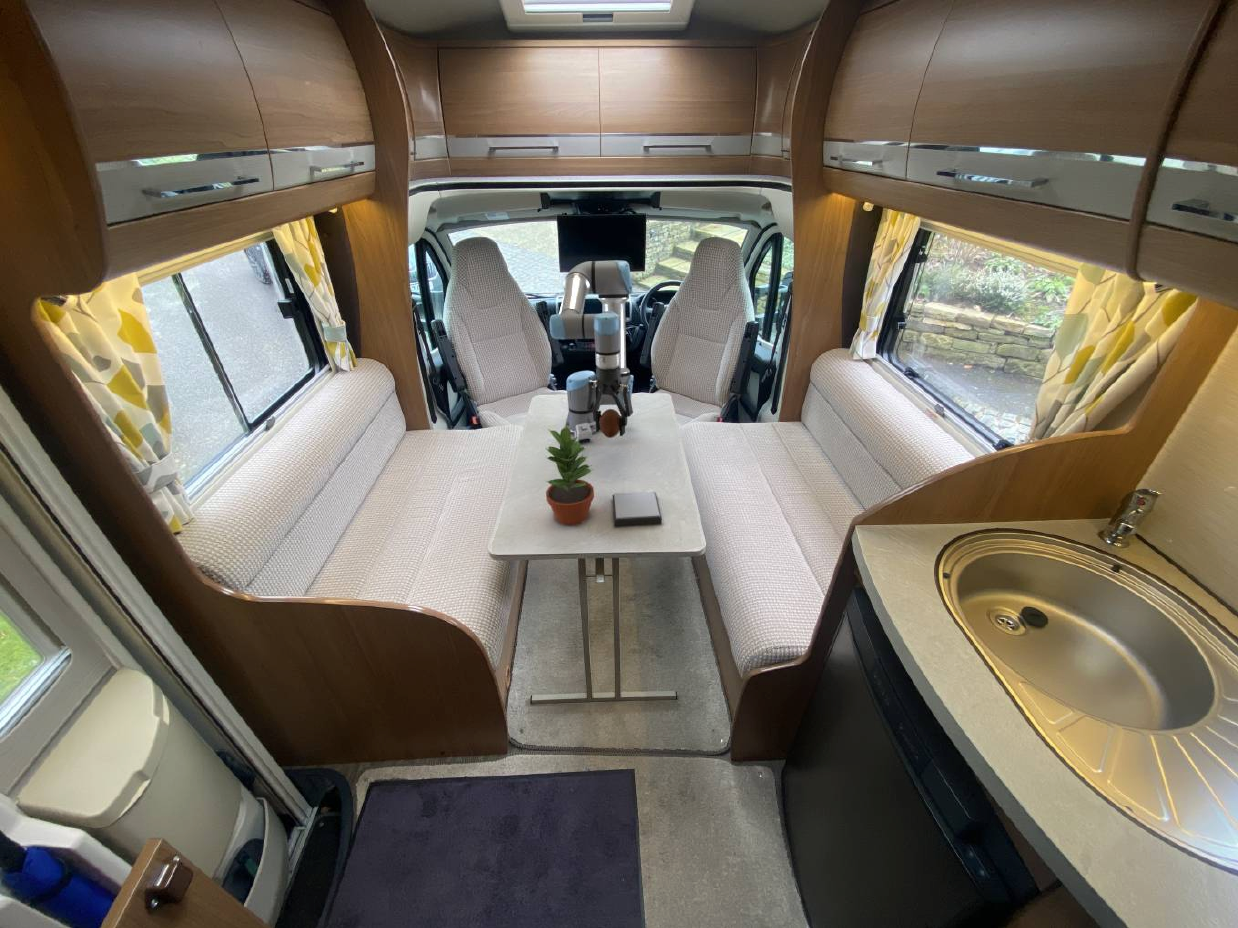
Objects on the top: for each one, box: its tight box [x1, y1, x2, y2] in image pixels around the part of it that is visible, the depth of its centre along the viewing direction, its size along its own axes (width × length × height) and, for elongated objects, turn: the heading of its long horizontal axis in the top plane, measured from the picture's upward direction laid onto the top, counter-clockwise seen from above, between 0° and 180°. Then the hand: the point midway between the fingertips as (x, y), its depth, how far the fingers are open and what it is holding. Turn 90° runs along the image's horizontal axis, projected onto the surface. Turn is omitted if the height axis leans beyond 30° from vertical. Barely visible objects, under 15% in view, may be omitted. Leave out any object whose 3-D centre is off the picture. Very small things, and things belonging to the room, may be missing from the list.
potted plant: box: [545, 424, 595, 526], centre depth 147 cm, size 15×15×30 cm
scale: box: [612, 491, 662, 528], centre depth 155 cm, size 14×14×3 cm
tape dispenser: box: [574, 423, 593, 445], centre depth 195 cm, size 6×7×10 cm
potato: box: [599, 408, 621, 439], centre depth 163 cm, size 8×12×8 cm, turn 178°
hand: (610, 432), depth 165 cm, fingers closed on potato, 8 cm apart
